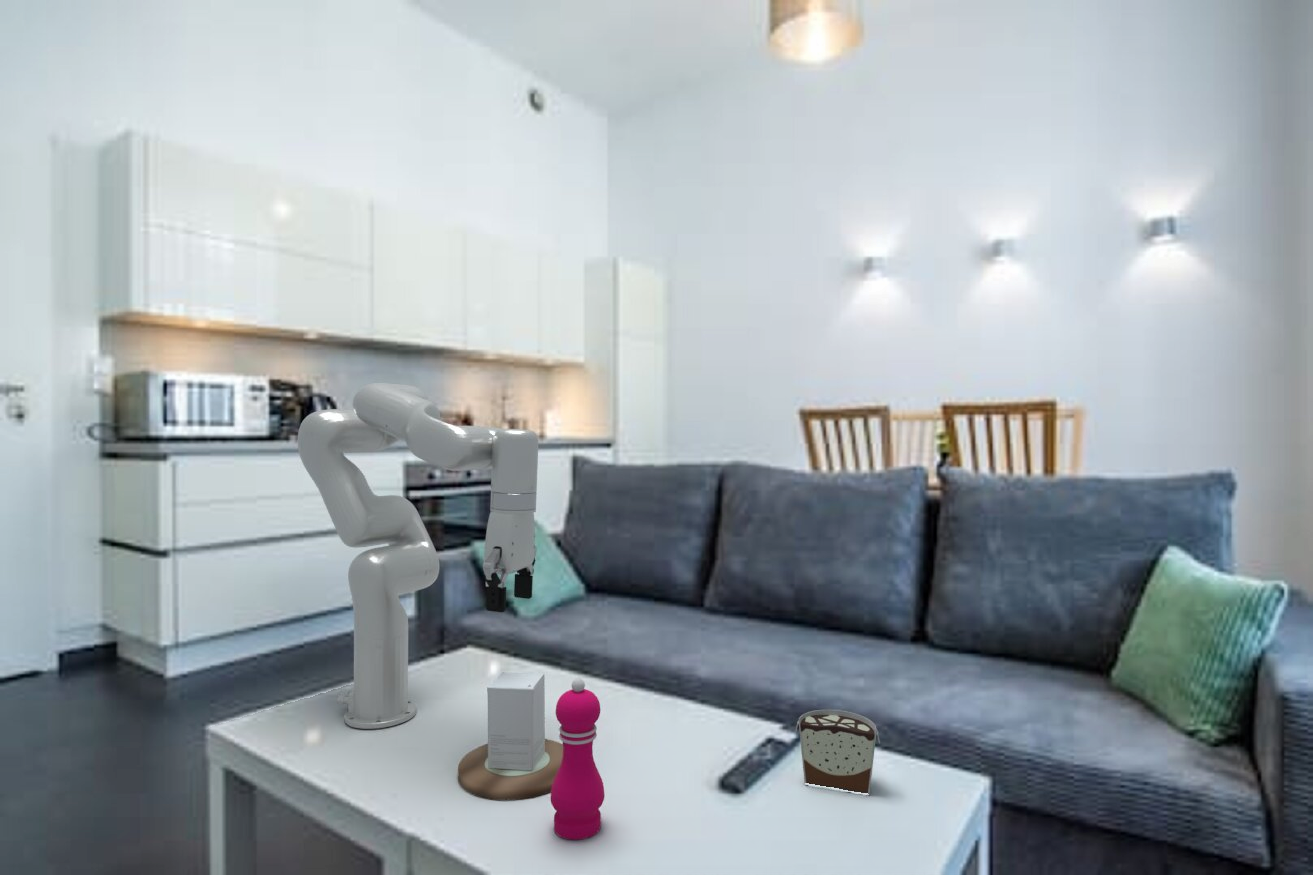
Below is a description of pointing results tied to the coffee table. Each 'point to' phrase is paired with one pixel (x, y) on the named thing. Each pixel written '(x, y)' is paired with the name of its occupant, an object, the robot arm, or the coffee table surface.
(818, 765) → the food container
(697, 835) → the coffee table surface
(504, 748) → the supplement box
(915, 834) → the coffee table surface
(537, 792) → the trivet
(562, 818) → the pepper mill
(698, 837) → the coffee table surface
